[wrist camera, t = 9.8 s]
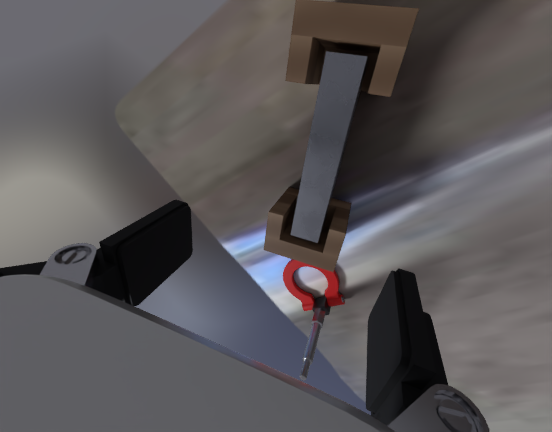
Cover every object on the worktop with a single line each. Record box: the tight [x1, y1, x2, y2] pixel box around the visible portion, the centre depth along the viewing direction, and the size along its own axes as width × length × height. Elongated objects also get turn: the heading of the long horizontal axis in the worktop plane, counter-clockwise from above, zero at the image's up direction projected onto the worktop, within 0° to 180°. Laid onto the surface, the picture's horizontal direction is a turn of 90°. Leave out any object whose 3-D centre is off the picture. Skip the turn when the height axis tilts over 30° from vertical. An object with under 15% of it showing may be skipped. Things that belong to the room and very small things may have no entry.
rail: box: [291, 51, 368, 243], centre depth 24 cm, size 17×3×5 cm, turn 172°
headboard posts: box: [264, 0, 419, 272], centre depth 25 cm, size 22×8×8 cm, turn 172°
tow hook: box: [283, 259, 345, 380], centre depth 32 cm, size 8×13×9 cm
